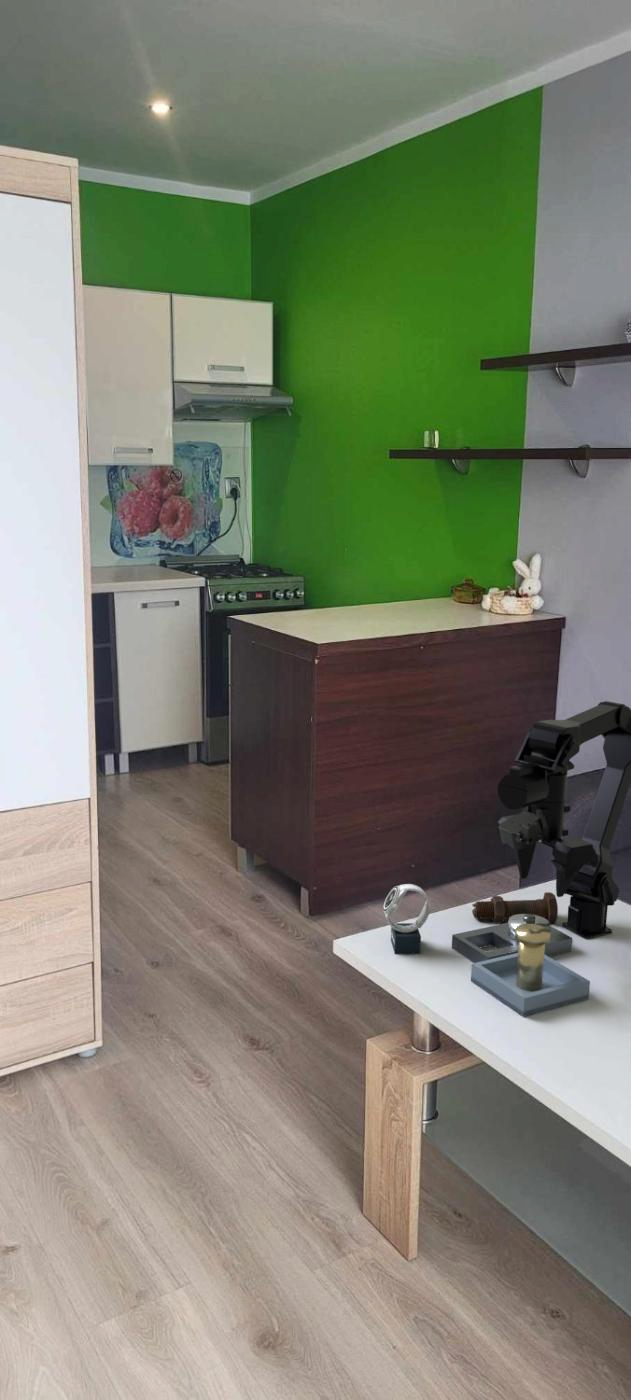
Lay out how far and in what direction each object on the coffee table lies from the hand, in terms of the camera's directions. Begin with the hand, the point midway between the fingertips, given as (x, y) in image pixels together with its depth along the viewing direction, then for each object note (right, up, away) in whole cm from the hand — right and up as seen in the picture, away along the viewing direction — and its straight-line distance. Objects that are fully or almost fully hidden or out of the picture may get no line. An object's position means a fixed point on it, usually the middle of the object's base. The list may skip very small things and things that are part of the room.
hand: (541, 887), depth 179 cm
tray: (-4, -14, -11) cm, 19 cm away
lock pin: (-4, -14, -11) cm, 18 cm away
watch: (-23, -11, +4) cm, 26 cm away
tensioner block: (-4, -11, +4) cm, 13 cm away
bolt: (-2, -9, +17) cm, 19 cm away
